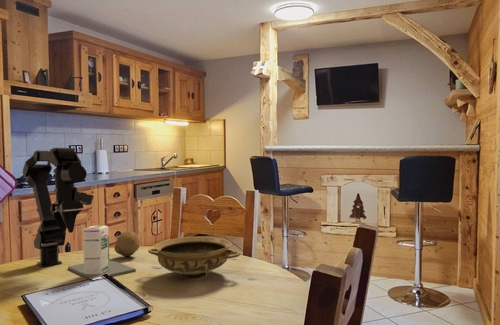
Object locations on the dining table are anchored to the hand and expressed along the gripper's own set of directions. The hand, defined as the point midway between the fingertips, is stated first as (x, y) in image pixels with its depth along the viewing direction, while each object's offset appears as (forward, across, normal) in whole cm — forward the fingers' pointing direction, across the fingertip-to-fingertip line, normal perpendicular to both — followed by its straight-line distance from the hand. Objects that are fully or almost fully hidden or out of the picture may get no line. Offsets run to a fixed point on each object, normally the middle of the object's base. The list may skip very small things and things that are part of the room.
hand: (67, 232), depth 125 cm
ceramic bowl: (+17, -30, -29) cm, 45 cm away
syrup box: (+13, -9, -6) cm, 17 cm away
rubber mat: (+14, -4, -9) cm, 17 cm away
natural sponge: (+13, +7, -22) cm, 27 cm away
